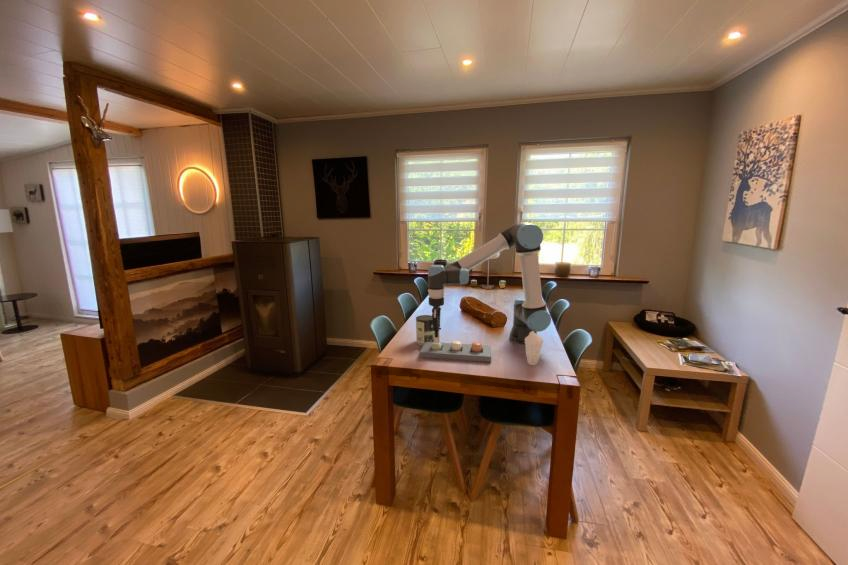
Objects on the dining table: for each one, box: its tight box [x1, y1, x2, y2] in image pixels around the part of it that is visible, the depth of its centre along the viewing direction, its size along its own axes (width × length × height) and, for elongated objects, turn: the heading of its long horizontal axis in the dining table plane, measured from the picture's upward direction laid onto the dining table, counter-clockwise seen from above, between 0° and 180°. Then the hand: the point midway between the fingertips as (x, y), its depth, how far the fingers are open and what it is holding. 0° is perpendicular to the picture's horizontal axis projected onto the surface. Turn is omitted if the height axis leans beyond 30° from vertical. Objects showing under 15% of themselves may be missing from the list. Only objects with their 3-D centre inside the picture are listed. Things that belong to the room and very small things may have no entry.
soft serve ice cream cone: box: [524, 331, 544, 366], centre depth 159 cm, size 8×8×16 cm
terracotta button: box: [471, 341, 483, 353], centre depth 169 cm, size 5×5×4 cm
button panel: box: [419, 342, 492, 363], centre depth 171 cm, size 34×14×3 cm, turn 80°
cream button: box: [450, 340, 462, 351], centre depth 171 cm, size 5×5×4 cm
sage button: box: [431, 342, 442, 350], centre depth 173 cm, size 5×5×4 cm
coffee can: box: [415, 314, 434, 346], centre depth 187 cm, size 10×10×14 cm
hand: (436, 342), depth 172 cm, fingers closed
